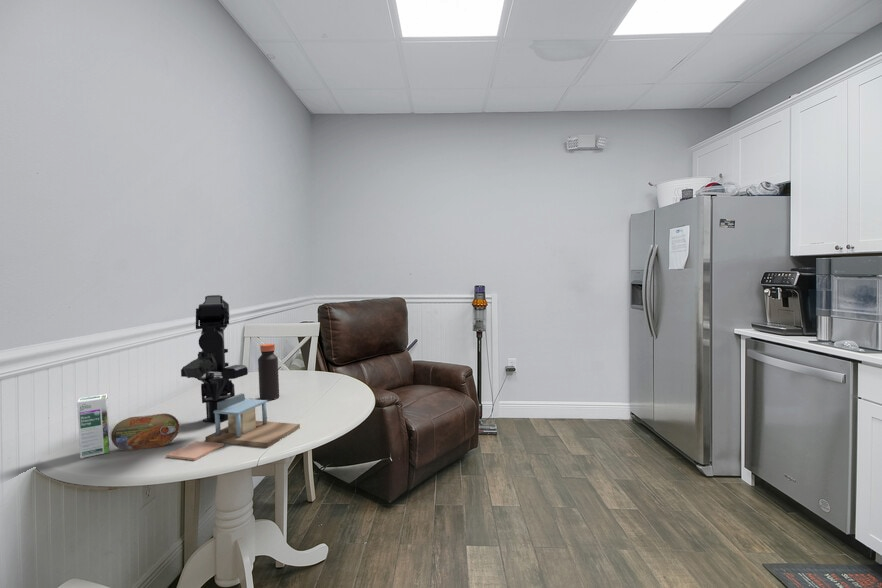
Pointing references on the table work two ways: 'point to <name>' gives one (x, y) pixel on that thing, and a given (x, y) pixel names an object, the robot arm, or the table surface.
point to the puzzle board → (256, 434)
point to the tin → (145, 432)
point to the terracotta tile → (195, 450)
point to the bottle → (268, 373)
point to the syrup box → (93, 425)
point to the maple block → (243, 422)
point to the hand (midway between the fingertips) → (215, 400)
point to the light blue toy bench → (237, 410)
